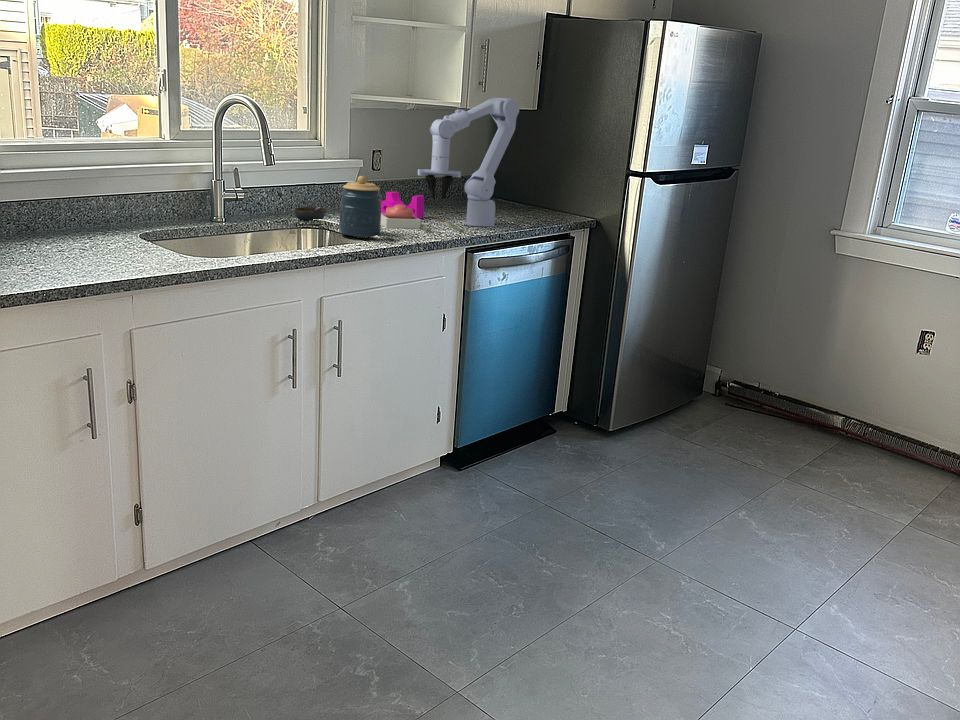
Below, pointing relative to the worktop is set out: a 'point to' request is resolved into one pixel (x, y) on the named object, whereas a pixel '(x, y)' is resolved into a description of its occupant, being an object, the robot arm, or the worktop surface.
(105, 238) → the worktop surface
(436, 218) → the game lane
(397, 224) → the white square frame
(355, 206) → the canister
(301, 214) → the soup bowl
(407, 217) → the dome
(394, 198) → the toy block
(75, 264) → the worktop surface
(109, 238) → the worktop surface
